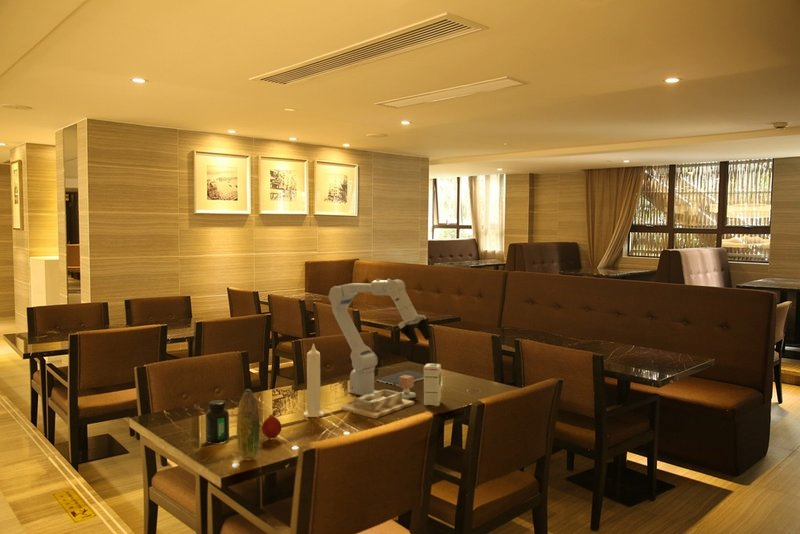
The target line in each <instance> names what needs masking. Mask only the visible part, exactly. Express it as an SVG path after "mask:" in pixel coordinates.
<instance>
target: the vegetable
mask: <svg viewBox="0 0 800 534" xmlns="http://www.w3.org/2000/svg"><path fill="white" fill-rule="evenodd" d="M260 425H261V424H260V413H259V404H258V400H257V398H256V396H255V395H254V393H253V391H252V390H251V389H250V388H246V389H244V391H243V392H242V395H241V398H240V400H239V404H238V411H237V417H236V436H237V437H236V438H237V447H238V452H239V454H240V456H241V458H242V459H244V460H245V459H252V458H253V459H255V458H256V456H257V455H258V452H259V446H260V428H261V427H260ZM254 457H255V458H254ZM253 459H252V460H253Z"/></svg>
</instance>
